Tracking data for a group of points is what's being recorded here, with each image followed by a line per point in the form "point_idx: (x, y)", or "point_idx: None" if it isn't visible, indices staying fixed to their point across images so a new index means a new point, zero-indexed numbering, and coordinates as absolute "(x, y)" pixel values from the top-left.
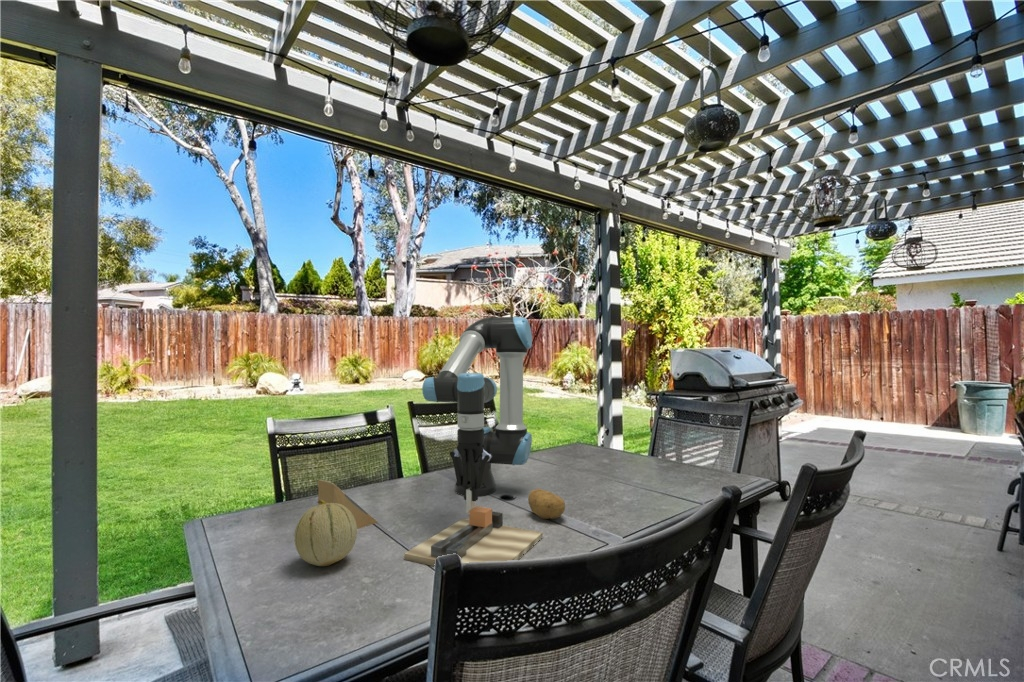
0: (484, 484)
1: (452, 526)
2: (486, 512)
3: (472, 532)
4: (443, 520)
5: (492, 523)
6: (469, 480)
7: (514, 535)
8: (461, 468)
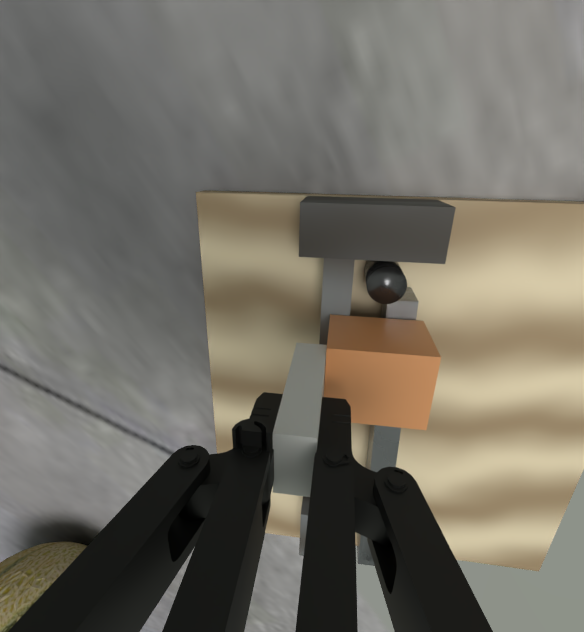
0: (418, 487)
1: (215, 303)
2: (428, 415)
3: (378, 438)
4: (101, 187)
5: (417, 299)
6: (260, 511)
7: (536, 300)
8: (108, 617)
